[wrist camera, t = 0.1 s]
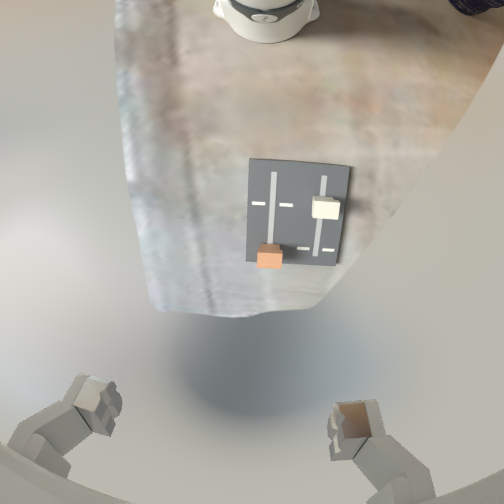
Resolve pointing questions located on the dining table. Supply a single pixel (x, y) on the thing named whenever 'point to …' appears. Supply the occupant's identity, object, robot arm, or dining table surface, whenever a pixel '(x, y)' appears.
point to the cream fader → (325, 207)
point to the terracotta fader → (269, 256)
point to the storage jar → (475, 5)
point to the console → (294, 209)
